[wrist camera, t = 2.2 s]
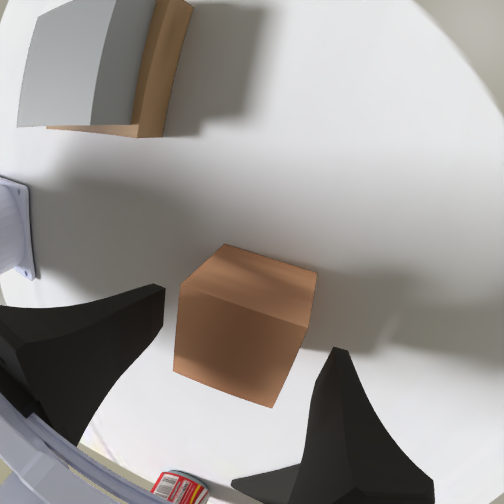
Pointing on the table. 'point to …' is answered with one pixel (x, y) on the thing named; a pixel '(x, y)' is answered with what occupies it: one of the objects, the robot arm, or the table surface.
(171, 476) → the soda can
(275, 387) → the terracotta block
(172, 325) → the table surface
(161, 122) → the tower base
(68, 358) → the robot arm
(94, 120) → the tower top
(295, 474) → the phone
